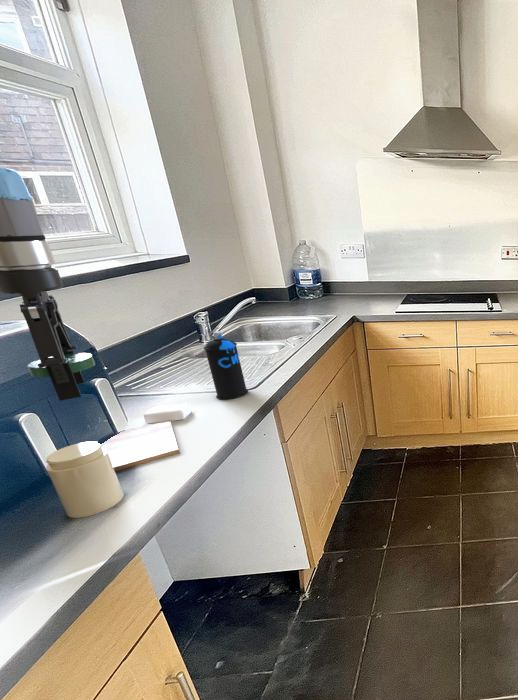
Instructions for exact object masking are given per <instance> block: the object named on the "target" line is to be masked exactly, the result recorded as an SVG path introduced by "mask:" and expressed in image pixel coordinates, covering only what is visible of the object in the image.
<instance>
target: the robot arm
mask: <svg viewBox="0 0 518 700" xmlns="http://www.w3.org/2000/svg"><path fill="white" fill-rule="evenodd" d="M33 200H34V199H33V196H32V195H31V193H30V192H29V189H28V187H27V185H26V182H25V180H24V178H23V177H22V175H21V173H19V172H18V171H16V170H15V169H12V168H7V167H1V166H0V293H1V294H7V295H15V294H18V295H21V299H22V302H21V303H20V304H19V308H20V313H22V315H23V317H24V319H25V322H26V324H27V327H28V330H29V333H30V335H31V338H32V341H33V344H34V346H35V349H36V351H37V354H38V358H39V360H41V361H40V362H41V363H40V364H38V366H39V368H42V367H46V368H47V371H48V373H49V376H50V377H49V378H50V381H51V383H52V385H53V388H54V391H55V392H56V395H57V397H58V399H59V402H60V401H61V402H62V401H66V400H72V399H76V398H81V397H82V393H81V391H80V387H79V386H78V385H80V384H85V383H86V381H85V379H84V376H83V373H82V371H79V372H75V373H72V370H71V368H70V365H69V362H67V360H66V359H65V357H64V355H65V354H74V350H78V346H77V344H75V343H73V341H72V340H71V338H70V336H69V334H68V331H67V328H66V326H65V324H64V322H63V319H62V315H61V313H60V311H59V309H58V308H59V307H58V303H57V301H56V298H55V297H54V296H53V295H52V294H49V293H48V292H51V291H56V290H57V291H58V290H61V289H62V288H63V287H64V283H63V281H62V278H61V275H60V273H59V269H58V268H56V267H55V266H52V265H54V264H55V263H56V261H55V258H54V255H53V252H52V249H51V247H50V244H49V241H48V240H47V238H46V236H45V234H44V232H43V228H42V226H41V222H40V219H39V217H38V214H37V213H38V212H37V211H36V207H35V204H34V201H33ZM72 343H73V344H72ZM53 356H56V357H53ZM48 357H51V358H48Z"/></svg>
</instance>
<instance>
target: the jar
mask: <svg viewBox="0 0 518 700" xmlns="http://www.w3.org/2000/svg"><path fill="white" fill-rule="evenodd" d="M45 462H46V463H47V465H46V466H45V470H46V472H47V474H48V476H49V479H50V480H51V483H52V485H53V488H54V490H55V492H56V494H57V497H58V499H59V501H60V503H61V505H62V507H63V509H64V511H65V514H66V516H67V517H69V518H72V519H78V518H79V519H80V518H86V517H91V516H94V515H97V514H100V513H103V512H105V511H106V510H107V511H108V510H109V509H111V508H112V507H114V506H117V504H118V503H120V502H121V501H122V500H123V499H124V496H125V495H124V494H125V493H124V491H123V488H122V486H121V483H120V480H119V477H118V475H117V473H116V472H117V471H115V470H114V467H113V465H112V462H111V460H110V457H109V454H108V452H107V450H106V449H104V448H102V447H101V444H100V443H98V441H84V442H79V443H74V444H71V445H68V446H64V447H62V448H60V449H57V450H55V451H53V452H52V453H50V454H49V455H48V456H47V457H46V460H45Z"/></svg>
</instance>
